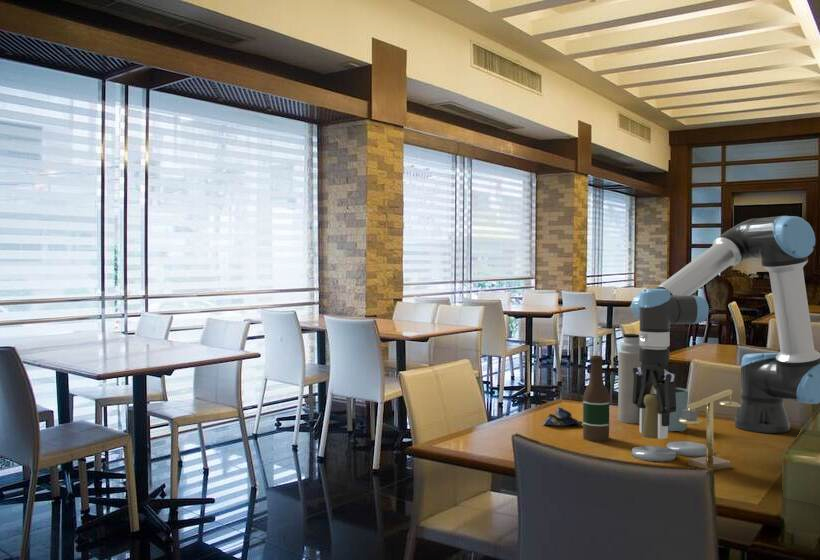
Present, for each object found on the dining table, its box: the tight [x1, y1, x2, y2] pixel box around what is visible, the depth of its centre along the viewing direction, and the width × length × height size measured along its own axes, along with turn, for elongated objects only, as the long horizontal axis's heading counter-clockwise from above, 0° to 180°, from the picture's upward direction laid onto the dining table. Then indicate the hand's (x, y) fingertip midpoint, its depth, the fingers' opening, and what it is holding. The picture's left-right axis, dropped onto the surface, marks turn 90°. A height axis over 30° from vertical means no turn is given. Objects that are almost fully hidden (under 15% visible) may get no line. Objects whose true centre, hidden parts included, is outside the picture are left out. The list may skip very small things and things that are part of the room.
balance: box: [679, 388, 741, 471], centre depth 175 cm, size 19×6×19 cm, turn 114°
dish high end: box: [666, 440, 706, 458], centre depth 190 cm, size 11×11×1 cm
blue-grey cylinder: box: [653, 387, 689, 432], centre depth 216 cm, size 10×10×12 cm
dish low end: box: [631, 445, 677, 463], centre depth 185 cm, size 11×11×1 cm
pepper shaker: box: [641, 393, 660, 440], centre depth 185 cm, size 6×6×11 cm
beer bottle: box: [582, 354, 610, 443], centre depth 203 cm, size 8×8×24 cm
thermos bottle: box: [617, 333, 642, 424], centre depth 226 cm, size 8×8×28 cm
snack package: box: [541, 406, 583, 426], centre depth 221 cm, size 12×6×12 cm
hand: (653, 435), depth 185 cm, fingers closed on pepper shaker, 6 cm apart
